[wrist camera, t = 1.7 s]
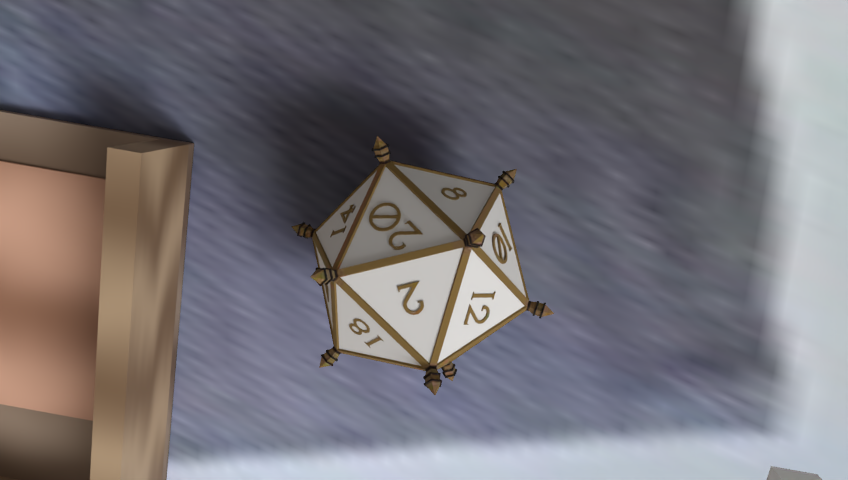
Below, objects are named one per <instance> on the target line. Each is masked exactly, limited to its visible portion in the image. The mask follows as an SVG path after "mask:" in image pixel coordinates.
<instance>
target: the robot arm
mask: <svg viewBox="0 0 848 480" xmlns="http://www.w3.org/2000/svg"><path fill="white" fill-rule="evenodd" d="M767 480H822V479H821V478H820V477H819V476H818V475H817V474H812V473H806V472H801V471H795V470H790V469H784V468H778V467H773V466H771V468H770V471H769V474H768V477H767Z"/></svg>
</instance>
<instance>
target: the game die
mask: <svg viewBox="0 0 848 480" xmlns="http://www.w3.org/2000/svg"><path fill="white" fill-rule="evenodd" d="M388 147H389V145H388V144H386V143H384V142H383V141H382V140H381V139H380V138H379V137H378V136H377V138H376V141H375V145H374V148H373V149H372V151H374V152H375V158H377V159H378V160H379V161H380V165H379V166H378V167H377V168H376V169H375V170H374V171H373V172H372V173H371V174H370V175H369V176H368V177H367V178H366V179H365V180H364V181H363V182H362V183H361V184H360V185H359V186H358V187H357V188H356V189H355V190H354V191H353V192H352V193H351V194H350V195H349V196H348V197H347V198H346V199H345V200H344V201H343V202H342V203H341V204H340V205H339V206H338V207H337V208H336V209H335V211H334V212H333V213H332V214H331V215H330V216H329V217H328V218H327V219H326V220H325V221H324V222H323V223H322V224H321V225H320V226H319V227H318V228H317V229H313V228H312V227H311V225H310V224H309V225H306V224H305V222H303V223H302V224H299V225H296V226H292V228H293V229H294V230H295V231H296V233H297V235H298V236H300V237H302V236H303V237H304V238H308V237H311V238H312V239H313V244H314V249H315V254H316V259H317V264H318V268H316V271H315V272H314V273H313V275H312V276H311V278H313V279H314V280H315V281H316V282H317V283H318V284H319V285H320V286H322V289H323V294H324V299H325V304H326V309H327V314H328V319H329V324H330V329H331V334H332V339H333V344H334V346H333V348H332V349H330V350H326V353H325V354H322V355H321V356H322V358H321V362H320V367H325V366H330V365H331V366H333V363H334V362H335V361H337V360H338V359H337V358H338V356H339V354H341V353H343V354H348V355H353V356H357V357H362V358H367V359H372V360H376V361H381V362H386V363H390V364H395V365H400V366H404V367H409V368H414V369H419V370H423V371H426V375H425V376H424V379H425V383H424V386H426V387H427V388H429V389H430V390H431V392H432V393H433V394H434V395H436V393H437V391H438V388H439V387H441V383H442V380H440V373H438V371H437V369H439V368H442V370H443V371H444V372H442V373H443V375H444V376H445V378H449V379H450V380H451V381H453V378H454V376H455V374H456V372H457V369H455V364H453V363H452V361H453V360H455V359H456V358H457V357H459V356H460V355H462V354H463V353H465V352H466V351H468V350H469V349H471V348H472V347H473V346H475V345H476V344H478V343H479V342H481V341H482V340H484V339H485V338H486V337H488V336H489V335H491V334H492V333H494V332H495V331H497V330H498V329H500V328H501V327H502V326H504V325H505V324H507V323H508V322H510V321H511V320H513V319H514V318H516V317H517V316H518V315H520V314H521V313H523V312H524V311H526V310H528V311H530V312H531V313H533V316H534V315H537V316H540V317H539V318H541V317H543V316H547V315H551V314H554V313H553V312H552V311H551V310H550V309H549V308H548V307H547V306H546V305H545V304H546V303H544V304H542V303H539V301H537V302H531V301H529V298H528V294H527V290H526V286H525V282H524V278H523V274H522V270H521V266H520V262H519V258H518V254H517V250H516V246H515V242H514V238H513V234H512V230H511V226H510V222H509V218H508V214H507V210H506V206H505V202H504V198H503V194H502V190H503V189H504V188H506V187H509V185H510V184H511V183H514V177H515V174H516V170H517V169H514V170H510V171H506V172H505V171H503V174H502V175H501V176H498V178H499V179H498V181H497V182H496V183H495V184H493V183H488V182H484V181H479V180H475V179H470V178H466V177H461V176H457V175H452V174H448V173H443V172H439V171H435V170H430V169H426V168H421V167H417V166H412V165H408V164H403V163H399V162H394V161H390V160H389V154H391V153H390V151H388ZM320 367H319V368H320Z"/></svg>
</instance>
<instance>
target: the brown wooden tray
mask: <svg viewBox="0 0 848 480" xmlns="http://www.w3.org/2000/svg"><path fill="white" fill-rule="evenodd" d="M193 151H194V143H190V142H184V141H178V140H172V139H166V138H161V137H155V136H149V135H143V134H137V133H132V132H126V131H120V130H114V129H109V128H103V127H97V126H91V125H85V124H80V123H74V122H68V121H62V120H56V119H51V118H45V117H39V116H33V115H27V114H22V113H16V112H10V111H4V110H0V480H166V477H167V465H168V453H169V441H170V429H171V417H172V405H173V393H174V381H175V368H176V356H177V344H178V332H179V320H180V308H181V296H182V284H183V272H184V260H185V248H186V236H187V224H188V212H189V200H190V188H191V176H192V163H193Z"/></svg>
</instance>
